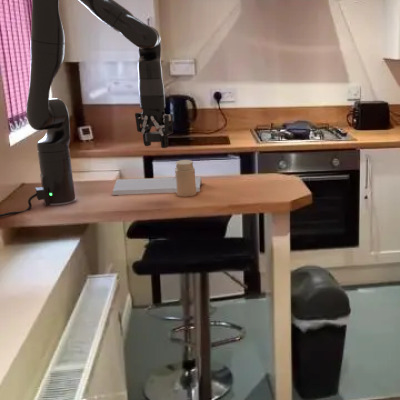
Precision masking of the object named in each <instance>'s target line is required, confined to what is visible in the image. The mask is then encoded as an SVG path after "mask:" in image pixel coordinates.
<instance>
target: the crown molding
mask: <svg viewBox="0 0 400 400" xmlns="http://www.w3.org/2000/svg"><path fill="white" fill-rule="evenodd" d="M202 180H203V179H202V176H195V181H196V193H200V191H201V185H203V181H202ZM175 193H176V194H177V188H176V177H155V178H153V177H152V178H151V177H150V178H149V177H148V178H123V179H116V181H115V183H114V185H113V189H112V196H126V195H150V194H175Z"/></svg>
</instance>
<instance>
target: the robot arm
mask: <svg viewBox="0 0 400 400" xmlns="http://www.w3.org/2000/svg"><path fill="white" fill-rule="evenodd" d="M31 1H32V2H31V26H30V27H31V30H30V70H29V71H30V72H29V85H28V94H27V99H26V100H27V101H26V111H25V112H26V119H27V122H28V124H29V126H30V127H31V128H32V129H33V130H35V131H46V133H45V135H44V136H43V138H41V139H40V140H39V141H38V142H37V143H36V148H37V156H38V163H39V171H40V173H39V175H40V177H39V178H40V183H41V186H39V187H35V193H34V194H32V195H31V196H29V198H28V200H27V204H28V207H27V208H26V209H25V210H20V211H10V212H5V213H1V214H0V218H2V217H6V216H10V215H19V214H22V213H25V212H27V211H30V210H31V209H32V203H31V202H32V200H33V199H34V198H37V200H38V201H43V203H44V206H45V207H60V206H67V205H70V204H73V203H75V202H77V198H76V192H75V185H74V176H73V169H72V167H73V166H72V159H71V153H70V152H71V151H70V142H71V127H70V126H71V125H70V115H69V109H68V106H67V105H66V103H65V102H64V100H62V99H60V98H57V97H56V98H55V97H53V98H50V92H51V87H52V85H53V81H54V80H55V78H56V77H57V75H58V73H59V71H60V69H61V67H62V65H63V63H64V59H65V52H66V51H65V50H66V35H65V31H64V26H63V22H62V19H61V14H60V0H31ZM78 1H79V2H80V3H81V4H82V5H83V6H84V7H85V8H87V9H88V11H90V13H92V14H93V15H94V16H95V17H96V18H97V19H99V20H100V21H101V22H102V23H104V24H106V25H107V26H108V27H109V28H111V29H112V30H114V31H116V32H117V33H119V34H120V35H122V36H123V37H124V38H125V39H126V40H128V41H129V42H130V43H131V44H133V45H134V46H135V47H137V48H138V60H137V75H138V76H137V78H138V98H139V108H140V109H141V110H142V111H140V112H135V114H134V117H135V124H136V131H137V132H138V133H141V134H142V140H143V141H142V142H143V146H145V147H150V146H152V142H147V141H146V138H145V133H147V132H151V130H152V128H153V127H154V128H155V129H156V130H157V131H158V132H160V134H161V136H160V138H161V142H160V146H161V147H160V148H162V149H167V148H168V147H169V135H172V134H174V116H173V114H166V113H165V109H166V98H165V86H164V81H163V80H164V79H163V71H162V70H163V69H162V62H161V60H162V59H161V57H162V40H161V35H160V32H159V31H158V30H157V29H156V28H155V27H153V26H150V25H148V24H146V23H145V22H143V21H142V20H140V19H139V18H137V17H136V16H134V14H133V13H132V12H130V11H129V10H128V9H126V8H125V7H124V6H122V5H121V4H120V3H118V2H117V1H116V0H78Z"/></svg>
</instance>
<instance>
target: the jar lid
mask: <svg viewBox="0 0 400 400" xmlns="http://www.w3.org/2000/svg"><path fill="white" fill-rule="evenodd" d="M160 136H161V134H160V132H159V131H150V132H147V133H145V138H146V141H147V142H151V143H161V138H160Z"/></svg>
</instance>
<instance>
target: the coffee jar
mask: <svg viewBox="0 0 400 400" xmlns="http://www.w3.org/2000/svg"><path fill="white" fill-rule="evenodd" d="M193 163H194V161H193V160H191V159H180V160H177V161H176V162H175V168H174V175H175V178H176V188H177V193H176V196H178V197H193V196H196V195H197V192H196V181H195V177H196V170H195V167H194V164H193Z"/></svg>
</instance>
